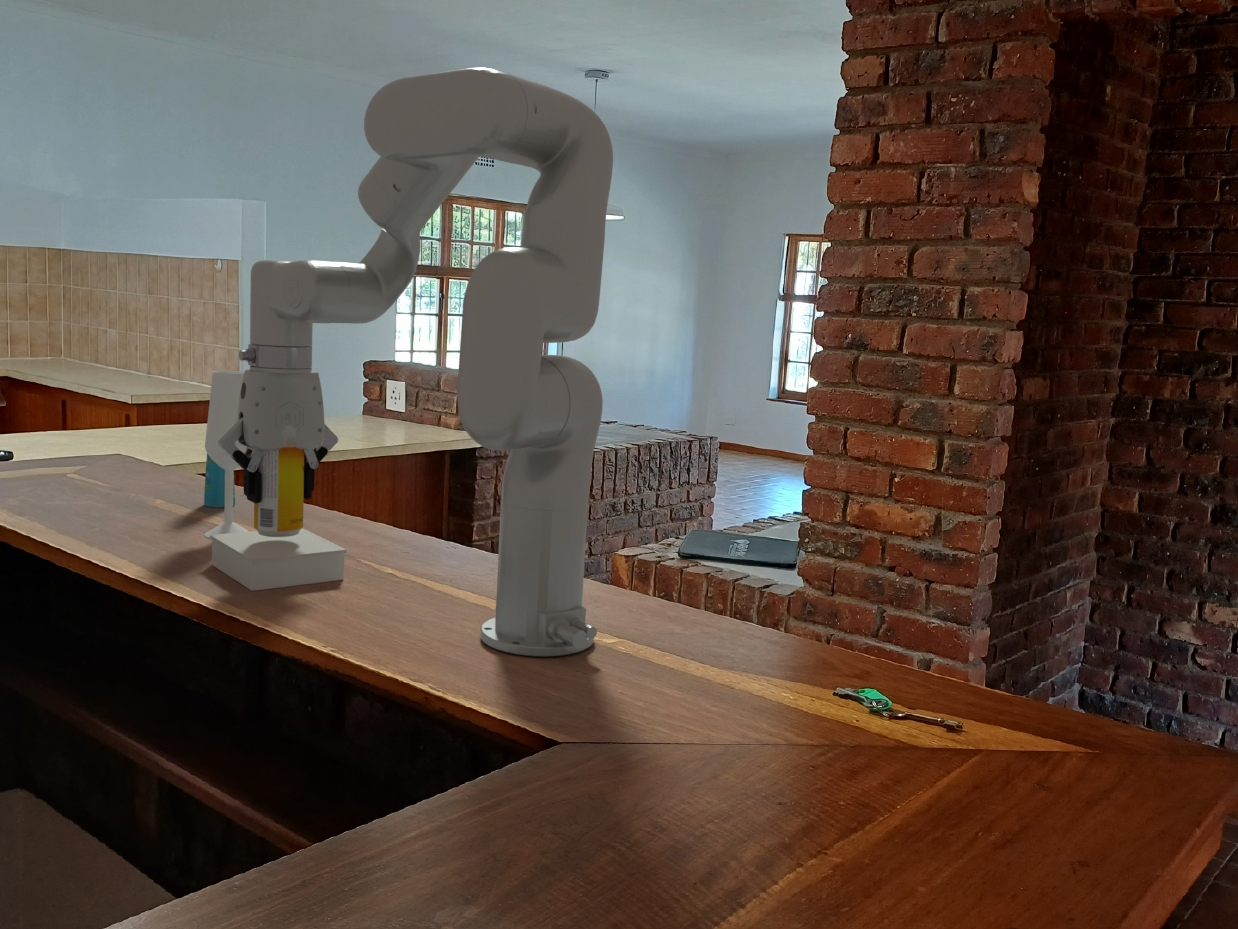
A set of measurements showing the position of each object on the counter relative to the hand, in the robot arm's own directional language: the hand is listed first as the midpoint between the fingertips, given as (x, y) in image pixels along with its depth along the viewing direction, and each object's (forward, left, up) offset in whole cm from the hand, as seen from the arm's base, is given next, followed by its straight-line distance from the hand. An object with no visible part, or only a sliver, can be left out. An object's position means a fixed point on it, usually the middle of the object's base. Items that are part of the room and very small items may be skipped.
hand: (279, 498), depth 140 cm
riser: (0, 0, -10) cm, 10 cm away
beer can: (0, 0, -5) cm, 5 cm away
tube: (+44, -8, -10) cm, 46 cm away
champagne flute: (+23, -2, -10) cm, 25 cm away
